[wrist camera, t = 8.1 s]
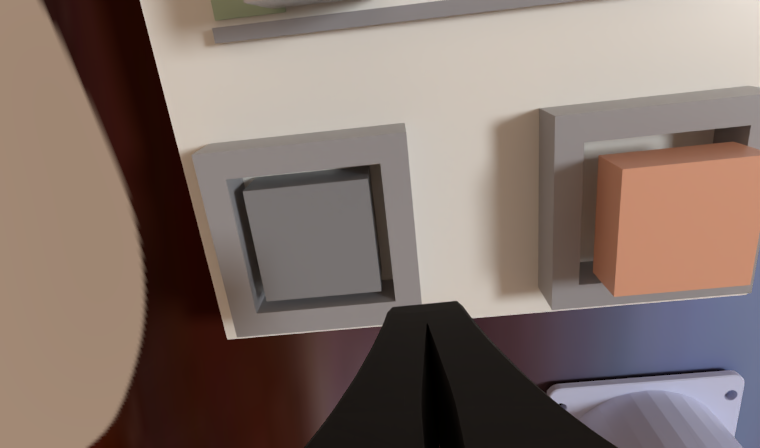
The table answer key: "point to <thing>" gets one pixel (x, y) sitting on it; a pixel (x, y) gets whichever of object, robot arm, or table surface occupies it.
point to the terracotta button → (677, 218)
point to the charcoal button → (315, 233)
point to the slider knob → (285, 3)
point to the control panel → (445, 134)
